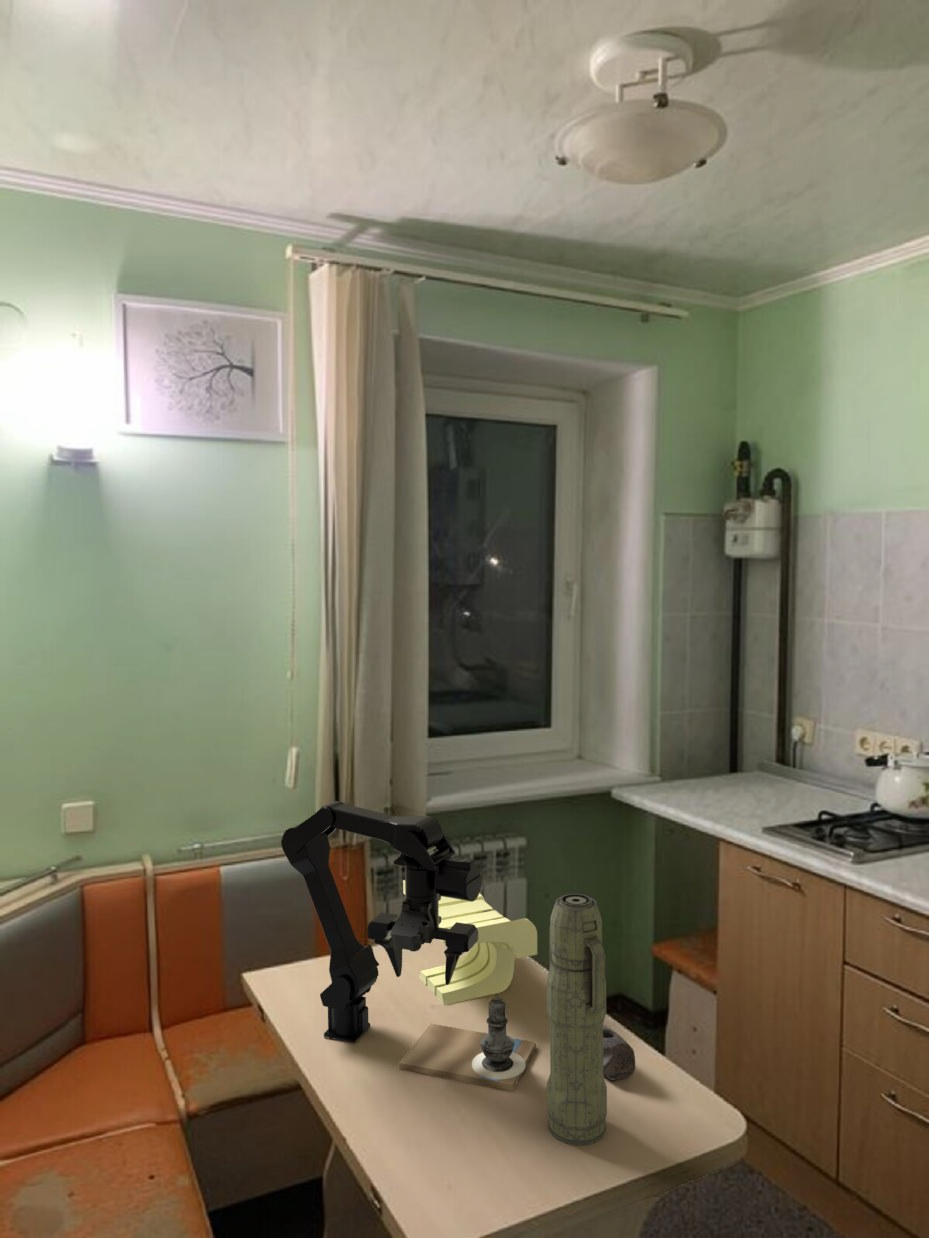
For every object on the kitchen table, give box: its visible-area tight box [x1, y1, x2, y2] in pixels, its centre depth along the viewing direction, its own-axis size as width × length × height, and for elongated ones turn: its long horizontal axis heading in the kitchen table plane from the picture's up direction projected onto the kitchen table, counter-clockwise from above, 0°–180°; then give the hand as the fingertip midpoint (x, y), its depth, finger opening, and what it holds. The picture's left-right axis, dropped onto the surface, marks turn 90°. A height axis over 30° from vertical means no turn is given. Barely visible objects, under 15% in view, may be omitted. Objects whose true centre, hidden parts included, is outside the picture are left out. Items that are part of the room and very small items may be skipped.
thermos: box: [546, 893, 608, 1146], centre depth 136 cm, size 9×12×35 cm
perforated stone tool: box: [603, 1024, 636, 1081], centre depth 154 cm, size 15×5×7 cm, turn 24°
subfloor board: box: [398, 1023, 537, 1091], centre depth 156 cm, size 20×14×1 cm
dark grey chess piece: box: [480, 993, 515, 1072], centre depth 152 cm, size 6×6×12 cm
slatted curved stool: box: [402, 879, 538, 1006], centre depth 184 cm, size 30×16×18 cm, turn 25°
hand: (423, 979), depth 157 cm, fingers open, 9 cm apart
